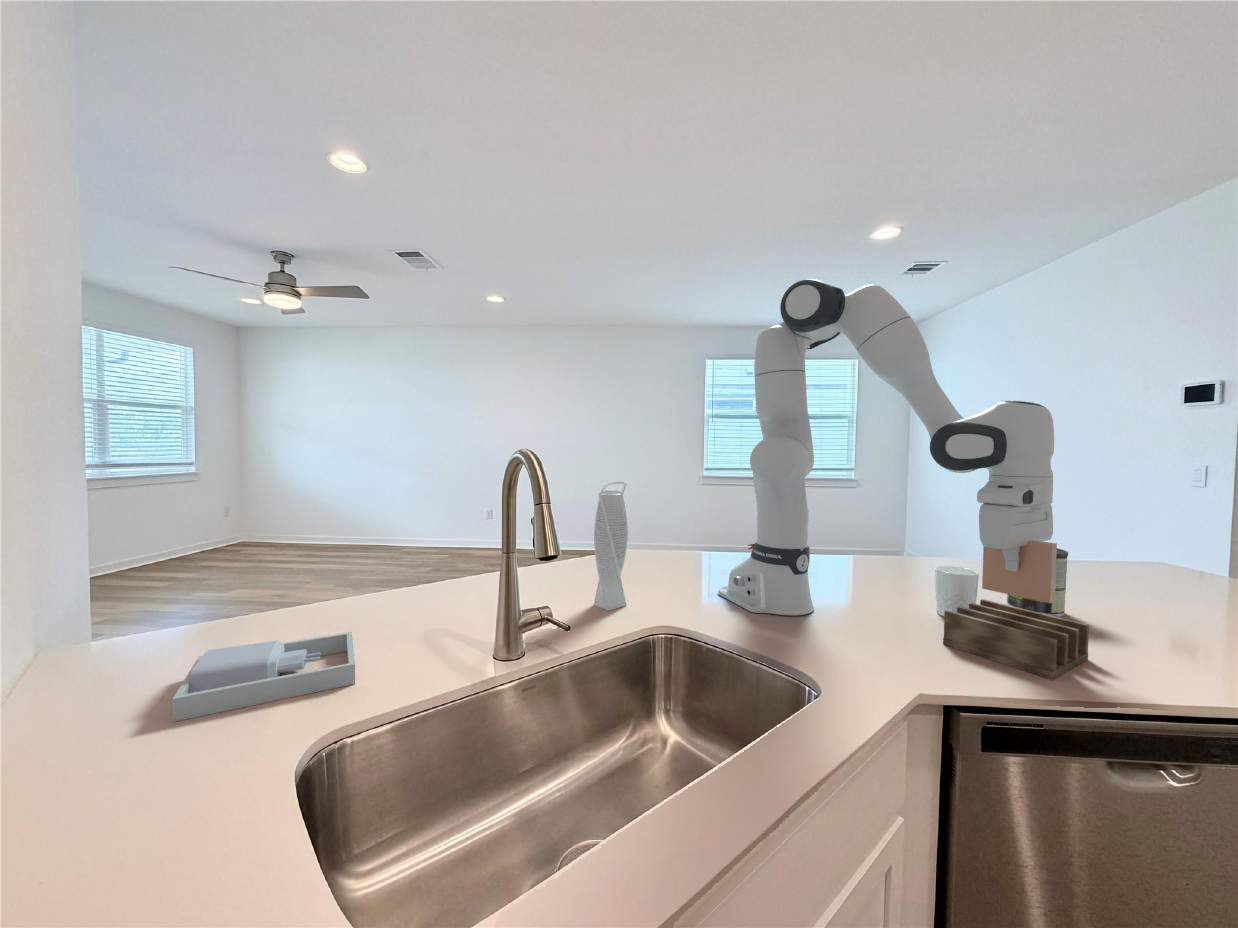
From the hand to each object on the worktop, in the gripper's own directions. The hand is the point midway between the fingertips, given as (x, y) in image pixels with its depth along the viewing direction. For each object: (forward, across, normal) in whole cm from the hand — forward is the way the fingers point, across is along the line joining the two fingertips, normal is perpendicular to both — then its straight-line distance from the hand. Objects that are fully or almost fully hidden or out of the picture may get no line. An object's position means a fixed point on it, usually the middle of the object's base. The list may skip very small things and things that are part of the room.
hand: (1017, 569), depth 87 cm
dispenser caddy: (+14, +113, -51) cm, 125 cm away
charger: (+15, +115, -52) cm, 127 cm away
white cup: (+15, -12, -15) cm, 25 cm away
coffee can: (+15, -33, -8) cm, 37 cm away
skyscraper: (+15, +51, -57) cm, 78 cm away
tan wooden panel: (+5, 0, 0) cm, 5 cm away
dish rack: (+15, 0, 0) cm, 15 cm away
